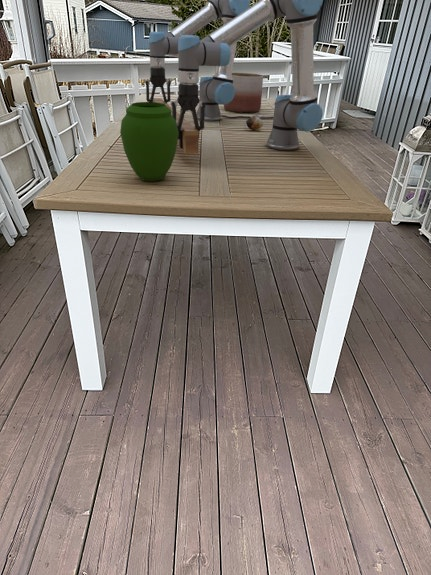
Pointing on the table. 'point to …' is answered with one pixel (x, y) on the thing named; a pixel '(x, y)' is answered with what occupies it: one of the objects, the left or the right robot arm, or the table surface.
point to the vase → (149, 139)
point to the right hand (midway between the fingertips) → (187, 147)
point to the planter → (246, 93)
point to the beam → (185, 133)
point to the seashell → (254, 123)
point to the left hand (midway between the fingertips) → (158, 115)
